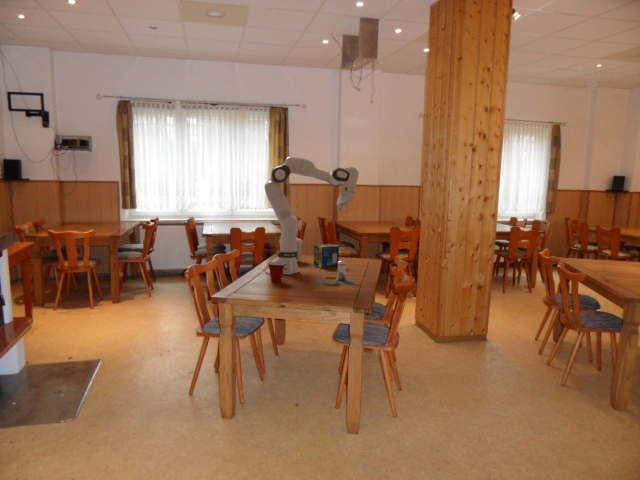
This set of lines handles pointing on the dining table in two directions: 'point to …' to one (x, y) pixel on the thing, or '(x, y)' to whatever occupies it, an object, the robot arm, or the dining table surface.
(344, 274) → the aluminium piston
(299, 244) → the canister
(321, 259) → the protein box
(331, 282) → the brass collar
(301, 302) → the dining table surface
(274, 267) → the plastic cup
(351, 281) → the rubber mat
